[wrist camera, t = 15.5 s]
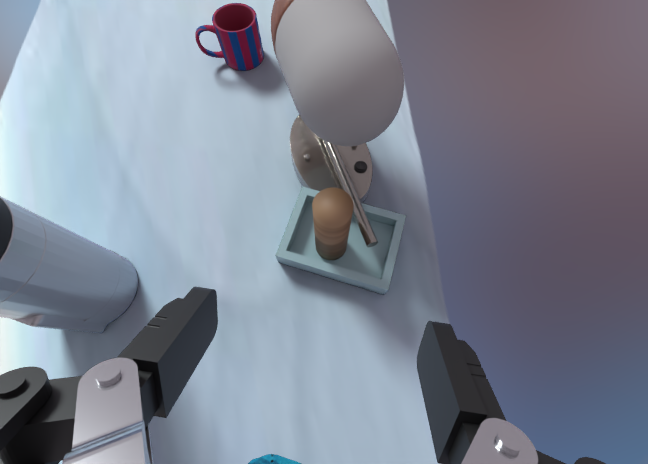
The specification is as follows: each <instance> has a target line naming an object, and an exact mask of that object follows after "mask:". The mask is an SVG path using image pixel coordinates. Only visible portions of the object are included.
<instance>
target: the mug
mask: <svg viewBox="0 0 648 464" xmlns="http://www.w3.org/2000/svg"><path fill="white" fill-rule="evenodd" d="M212 21H213V26H212V25H204V26H200V27H199V28H197V30H196V42H197V44H198V46H199V48H200V49H201V51H202V52H203V53H205V54H206V55H208V56H211V57H216V58H224V59H225V61H226V63H227V65H228V66H230V67H231V68H233V69H235V70H240V71H246V70H250V69H253V68H255V67H257V66H258V65H259V64H260V63H261V62H262V60H263V57H264V53H263V48H262V43H261V37H260V32H259V27H258V22H257V17H256V13H255V11H254V10H253V9H252V8H251V7H250V6H248V5H245V4H241V3H231V4H227V5H224V6H222V7H220V8H219V9H217V10H216V12H215V13H214V14H213V17H212ZM203 31H211V32H213V33H215V34H216V35H217V38H218V41H219V44H220V47H221V50H222V51H220V52H212V51H209V50H207V49H205V48H204V47H203V46H202V45H201V43H200V40H199V35H200V33H201V32H203Z"/></svg>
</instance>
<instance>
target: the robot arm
mask: <svg viewBox="0 0 648 464" xmlns="http://www.w3.org/2000/svg"><path fill="white" fill-rule="evenodd" d="M137 286H138V277H137V273H136V270H135V268H134V266H133V265H132V263H131V262H130V261H128V260H127V259H126V258H124V257H122V256H120V255H119V254H117V253H115V252H113V251H111V250H108V249H106V248H104V247H102V246H100V245H98V244H96V243H94V242H92V241H90V240H88V239H86V238H84V237H82V236H80V235H78V234H76V233H74V232H71V231H69V230H67V229H65V228H63V227H61V226H59V225H57V224H55V223H53V222H51V221H49V220H47V219H45V218H43V217H41V216H39V215H37V214H35V213H33V212H31V211H29V210H27V209H25V208H23V207H21V206H19V205H17V204H15V203H12V202H10V201H8V200H6V199H4V198H2V197H0V317H4V318H10V319H13V320H16V321H19V322H21V323H24V324H27V325H30V326H33V327H43V328H53V329H63V330H73V331H83V332H94V333H102V332H103V331H104V329H105V327H106V326H107V325H108V324H109V323H110V322H112V321H113V320H115V319H117V318H118V317H119V316H120V315H121V314H123V313H124V312H125V311H126V309H127V308H128V307H129V306H130V304H131V303H132V301H133V299H134V297H135V294H136V291H137ZM217 324H218V317H217V295H216V291H215V290H214V289H207V288H201V287H193V288H192V289H191V291H190V292H189V293H188V294H187V295H186V296H185V298H184V299H181V298H177V299H175V300H173V301H172V302H170V303H168V304H166V305H165V306H164V307H163V308H162V309H161V310H160V311H159V312H158V313H157V314H156V315H155V318H153V319H152V320H151V321H150V322H149V323H148V325H147V326H145V327H144V329H143V330H142V331H141V332H140V333H139V334H138V335H137V336H136V337H135V338H134V339H133V341H132V342H131V343H130V344H129V345H128V346H127V347H126V348H125V349H124V350H123V351H122V353H121V354H120V355H119V356H118V357H117V358H113V359H109V360H106V361H103V362H101V363H99V364H97V365H95V366H94V367H92V368H91V369H89V370H88V371H87V372H86V373H85V374H84V375H83V376H78V377H69V378H60V379H51V380H49V379H48V377H47V374H46V372H45V371H44V370H43V369H41V368H39V367H24V368H19V369H15V370H12V371H9V372H7V373H5V374H2V375H0V464H58V463H59V462H60V461H61V460H63V464H153V456H152V447H151V438H150V429H149V422H150V421H151V419H152V417H153V416H158V417H164V418H166V417H167V416H168V414H169V412H170V411H171V409H172V407H173V406H174V404H175V402H176V401H177V399H178V397H179V395H180V394H181V392H182V390H183V389H184V387H185V385H186V384H187V382H188V380H189V379H190V377H191V375H192V373H193V372H194V370H195V368H196V367H197V365H198V363H199V362H200V360H201V358H202V357H203V355H204V353H205V352H206V350H207V348H208V346H209V345H210V343H211V341H212V340H213V338H214V336H215V333H216V330H217ZM417 369H418V374H419V379H420V384H421V388H422V393H423V397H424V402H425V407H426V411H427V416H428V421H429V425H430V430H431V435H432V439H433V444H434V448H435V453H436V458H437V462H438V463H440V464H565V463H563V462H561V461H559V460H556V459H554V458H552V457H550V456H548V455H545V454H543V453H541V452H539V451H537V450H535V447H534V446H533V444H532V442H531V441H530V440H529V438H528V437H527V436H526V435H525V434H524V433H523V432H522V431H521V430H519V429H518V428H517V427H515V426H514V425H512V424H511V423H509V422H507V421H506V419H505V417H504V415H503V412H502V410H501V408H500V406H499V404H498V401H497V399H496V397H495V395H494V393H493V390H492V388H491V386H490V384H489V382H488V379H486V375H485V373H484V371H483V368H481V364H480V362H479V360H478V357H477V355H476V353H475V352H474V351H473V350H472V348H471V347H470V346H469V345H468V344H467V343H466V342H465V341H462V340H457V338H456V336H455V333H454V331H453V328H452V326H451V325H450V324H445V323H439V322H432V321H429V322H428V323H427V325H426V328H425V331H424V334H423V338H422V341H421V344H420V347H419V351H418V355H417ZM574 464H605V463H603V462H601V461H599V460H596V459H593V458H588V457H583V458H579V459H578V460H577V461H576V462H575V463H574Z"/></svg>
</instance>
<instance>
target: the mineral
mask: <svg viewBox="0 0 648 464" xmlns="http://www.w3.org/2000/svg"><path fill="white" fill-rule="evenodd" d="M248 464H301V463H298V462H296V461H293V460H290V459H287V458H284V457H281V456H279V455H274V454H269V455H265V456H262V457H260V458H256V459H253V460H251V461H250V462H249V463H248Z"/></svg>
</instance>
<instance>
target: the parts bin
mask: <svg viewBox="0 0 648 464" xmlns="http://www.w3.org/2000/svg"><path fill="white" fill-rule="evenodd" d="M319 192H320V191H317V190H313V189H310V188H306V187H303V186H302V188H301V191H300V194H299V196H298V199H297V201H296V204H295V206H294V209H293V212H292V214H291V217H290V219H289V222H288V224H287V227H286V230H285V232H284V235H283V237H282V240H281V243H280V245H279V248H278V250H277V253H276V255H275V256H276V258H277V260H278V262H279V263H282V264H286V265H289V266H292V267H295V268H299V269H302V270H305V271H308V272H311V273H315V274H318V275H321V276H324V277H328V278H331V279H334V280H337V281H340V282H344V283H347V284H350V285H353V286H357V287H360V288H363V289H366V290H370V291H373V292H376V293H379V294H382V295H384V294H385V293H386V292H387V291H388V290H389V286H390V281H391V277H392V273H393V269H394V265H395V260H396V256H397V252H398V248H399V244H400V240H401V235H402V231H403V227H404V223H405V219H406V215H403V214H399V213H395V212H392V211H388V210H385V209H381V208H378V207H374V206H370V205H367V204H363V203H361V204H362V206H363V208H364V211H365V213H366V215H367V217H368V220H369V222H370V224H371V227H372V229H373V231H374V234H375V236H376V238H377V241H378V244H376V245H375V246H373V247H367V246H366V244H365V241H364V239H363V237H362V234H361V232H360V229H359V227H358V225H357V222H356V220H355V217H354V215H353V213H352V219H351V225H350V231H349V236H348V242H347V248H346V251H345V253H344V255H343V256H342V257H340V258H339V259H337V260H326V259H324V258H322V257H321V256H320V255H319V254H318V253H317V251H316V245H315V233H314V221H313V209H312V203H313V199H314V197H315V196H316V195H317V193H319Z"/></svg>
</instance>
